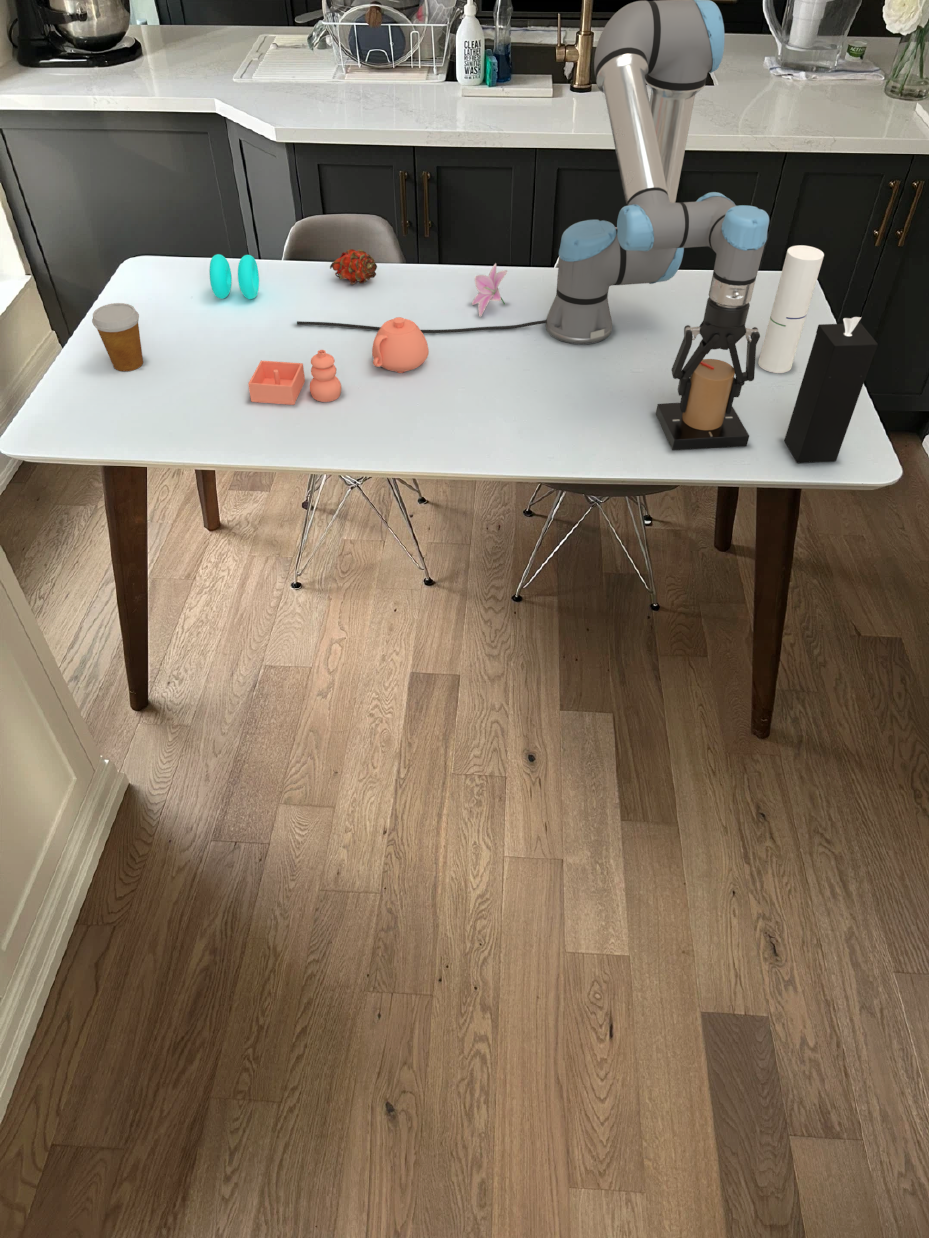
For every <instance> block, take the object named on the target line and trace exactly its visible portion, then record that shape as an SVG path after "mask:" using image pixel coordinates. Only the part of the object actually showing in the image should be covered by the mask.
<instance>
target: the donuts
mask: <svg viewBox="0 0 929 1238" xmlns="http://www.w3.org/2000/svg"><path fill="white" fill-rule="evenodd" d="M232 281H233V278H232V270H231V266H230V263H229V261H228V259H227V258H226V257H225V256H224V255H223V254H220V253H216V254H214V255H213V256H212V257H211V259H210V262H209V282H210V287H211V290H212V293H213V295H214V297H216V298H217V299H221V300H223V299H226V298H227V297H228V296H229V295H230V292H231V289H232V284H233V283H232ZM237 282H238V287H239V290H240V292H241V294H242V295H243V297H244V298H246V299H248V300H254V299H255V298H257V296H258V293H259V289H260V288H259V287H260V275H259V266H258V263H257V261H256V258H255V257H254V256H253V255H251V254H244V255H243V256H242V257H241V258H240V260H239V262H238V266H237Z"/></svg>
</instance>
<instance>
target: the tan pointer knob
mask: <svg viewBox="0 0 929 1238" xmlns="http://www.w3.org/2000/svg"><path fill="white" fill-rule="evenodd" d="M734 377H735V371H734V368H733V365H731V364H730V363H728V362H726V361H724V360H721V359H716V358H703V360H702V361H701V362H700V364H699V365H698V367H697V368H696V370H695V371H694V372H693V374H692V375H691V377H690V381H691V387H690V391H689V396H688V401H687V406H686V411H685V413H683V415H682V419H683V421H684V422H685V423H686V424H687V425H688V426H690V427H692V428H695V429H699V430H714V429H717V428H719V427H720V426H721V425H722V424H723V420H724V416H725V412H726V408H727V404H728V399H729V395H730V391H731V387H732V383H733V379H734Z"/></svg>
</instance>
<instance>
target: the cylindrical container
mask: <svg viewBox="0 0 929 1238" xmlns="http://www.w3.org/2000/svg"><path fill="white" fill-rule="evenodd" d="M824 257H825V253H824V252H823V251H822V250H821V249H819V248H817V247H814V246H810V245H803V244H801V245H799V244H798V245H792V246H790V247H788V248H787V251H786V254H785V259H784V262H783V266H782V270H781V274H780V278H779V282H778V285H777V289H776V292H775V297H774V301H773V304H772V308H771V312H770V315H769V320H768V324H767V328H766V332H765V335H764V339H763V343H762V347H761V350H760V355H759V358H758V361H757V362H758V363H757V364H758V366H759V367H760V368H761V369H762V370H764V371H767V372H769V373H774V374H783V373H788V372H790V370H791V369H792V366H793V364H794V360H795V357H796V354H797V349H798V346H799V343H800V339H801V336H802V333H803V330H804V327H805V326H804V325H805V322H806V319H807V315H808V312H809V308H810V306H811V305H810V304H811V302H812V299H813V295H814V291H815V287H816V285H817V280H818V278H819V273H820V270H821V268H822V264H823V260H824Z"/></svg>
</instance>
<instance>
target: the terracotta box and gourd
mask: <svg viewBox="0 0 929 1238" xmlns="http://www.w3.org/2000/svg"><path fill="white" fill-rule="evenodd" d="M335 363H336V362H335V358H334V356H333V355H332V354H330V353H328V352H327V351H326V350H325V349H319V350H317V353H316V354H314V355H313V356H312V357H311V358H310V365H311V368H310V374H311V376H312V377H313V378H312V379H311V381H310V383H309V391H310V392H309V393H310V394H311V397H312V398H313V400H315V401H317V402H321V403H330V402H334V401H336V400H337V399H339V398H340V397H341V393H342V383H341V381H340V378H338V377H337V376H336V374H337V367H336V365H335ZM305 382H306V378H305V370H304V363H303V362H289V361H275V360H274V361H273V360H260V361H259V362H258V365H257V366H256V369H255V371H253V374H252V375H251V377H250V379H249V382H248V384H247V385H248V391H249V397H250V402H251V403H260V404H261V403H262V404H275V405H276V404H277V405H290V406H295V404H296V402H297V400H298V398H299V396H300V393H301V391H302V389H303V388H304V385H305Z"/></svg>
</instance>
